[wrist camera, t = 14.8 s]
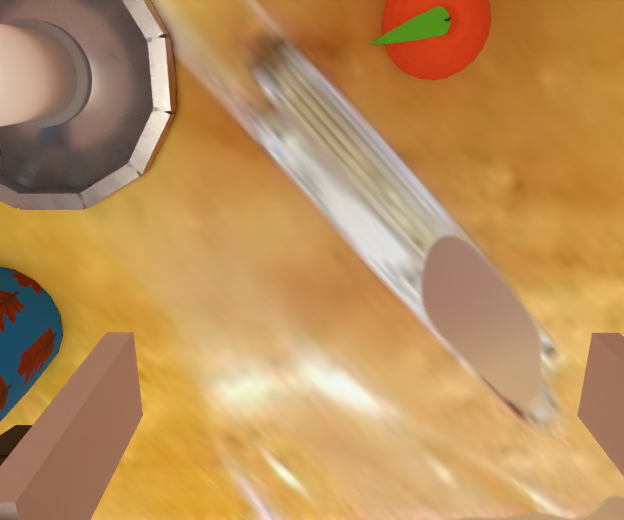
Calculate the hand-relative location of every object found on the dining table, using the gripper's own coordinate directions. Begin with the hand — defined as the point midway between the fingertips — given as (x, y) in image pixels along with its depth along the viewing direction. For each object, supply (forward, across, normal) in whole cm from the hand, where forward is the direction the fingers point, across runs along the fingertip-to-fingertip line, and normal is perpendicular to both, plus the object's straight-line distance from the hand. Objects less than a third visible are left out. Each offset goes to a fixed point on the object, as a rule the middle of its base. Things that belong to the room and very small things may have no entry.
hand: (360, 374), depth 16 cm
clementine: (+29, +6, +11) cm, 31 cm away
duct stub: (+28, -21, +8) cm, 36 cm away
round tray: (+29, -21, +8) cm, 36 cm away
